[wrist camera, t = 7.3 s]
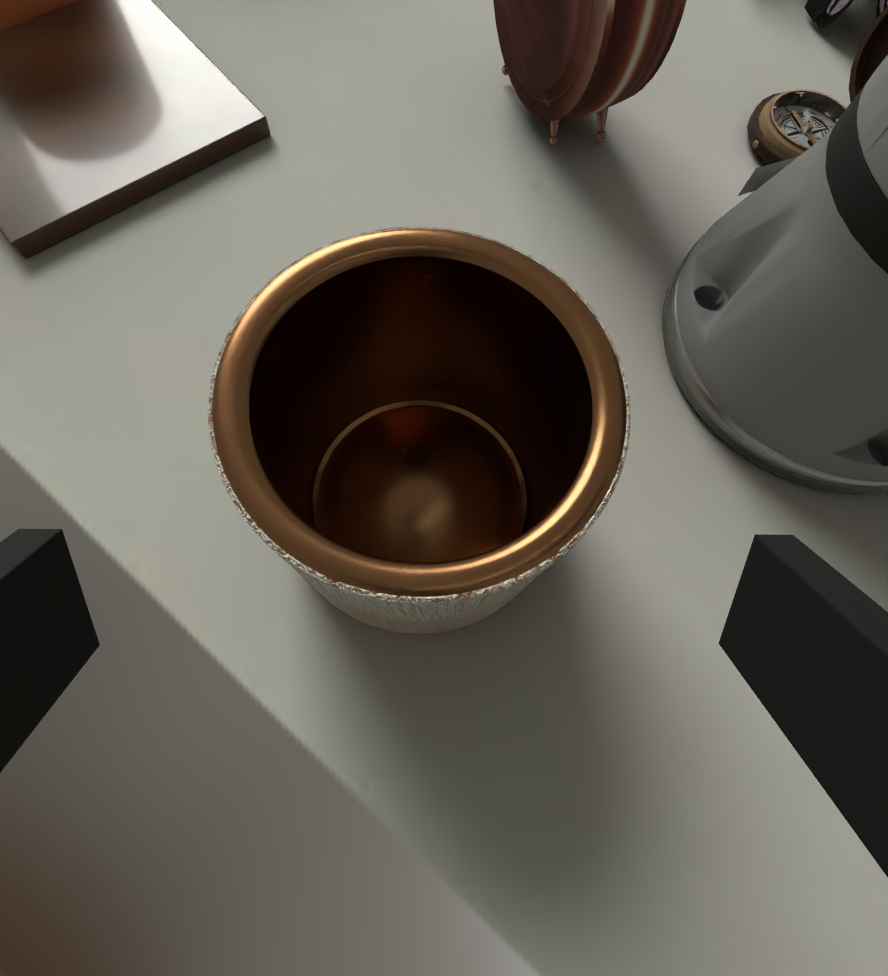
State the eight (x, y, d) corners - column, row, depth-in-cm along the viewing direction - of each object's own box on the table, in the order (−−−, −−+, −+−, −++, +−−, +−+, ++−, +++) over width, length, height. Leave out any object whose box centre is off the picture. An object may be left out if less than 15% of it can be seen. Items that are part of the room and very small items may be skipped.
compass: (723, 117, 31) (811, -41, 24) (837, 95, 32) (951, -62, 25) (792, 219, 29) (910, 77, 22) (911, 191, 30) (1060, 47, 23)
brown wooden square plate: (271, 134, 29) (266, 116, 28) (25, 259, 25) (10, 243, 24) (139, -1, 32) (131, -22, 31) (-96, 94, 29) (-113, 74, 28)
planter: (408, 697, 20) (402, 720, 11) (237, 492, 22) (113, 369, 13) (599, 512, 23) (722, 407, 14) (429, 347, 25) (437, 162, 16)
